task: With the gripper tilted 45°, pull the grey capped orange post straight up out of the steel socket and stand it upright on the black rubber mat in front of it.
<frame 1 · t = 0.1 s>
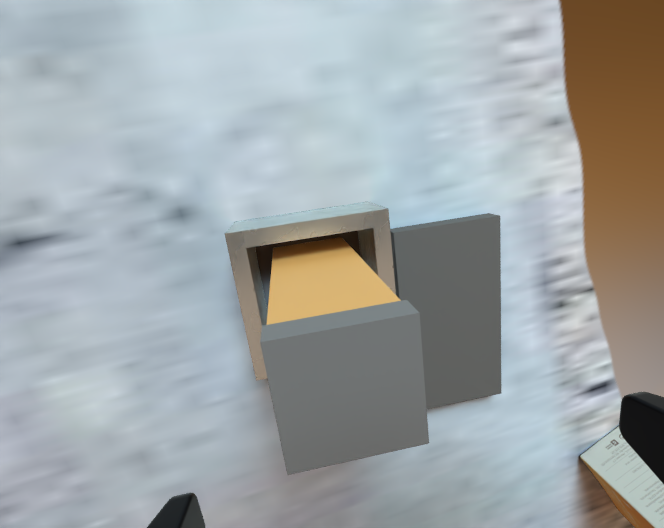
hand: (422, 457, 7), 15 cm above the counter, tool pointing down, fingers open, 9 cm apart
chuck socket: (312, 274, 21), on the counter
grey capped orange post: (324, 313, 16), in the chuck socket
small box: (626, 458, 29), on the counter
rubber mat: (443, 312, 23), on the counter
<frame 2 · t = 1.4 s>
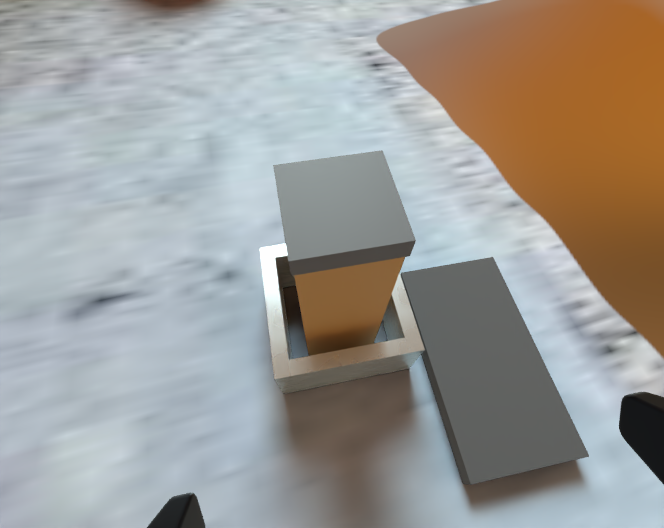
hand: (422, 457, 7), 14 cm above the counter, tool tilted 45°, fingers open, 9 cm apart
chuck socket: (334, 321, 23), on the counter
grey capped orange post: (336, 278, 18), in the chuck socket
rubber mat: (476, 358, 22), on the counter
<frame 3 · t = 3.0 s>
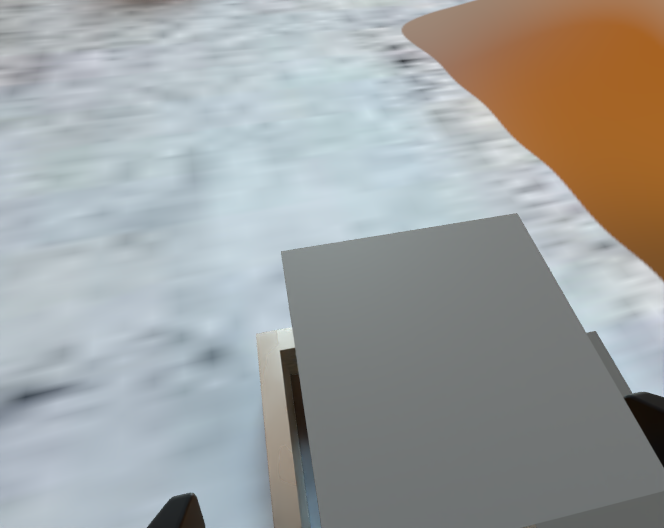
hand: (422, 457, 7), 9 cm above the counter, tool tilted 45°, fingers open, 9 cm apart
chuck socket: (368, 431, 15), on the counter
grey capped orange post: (387, 411, 10), in the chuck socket
rubber mat: (587, 497, 14), on the counter
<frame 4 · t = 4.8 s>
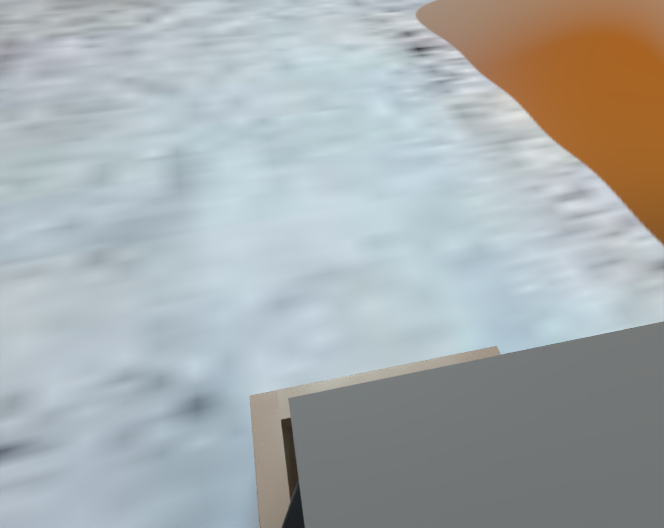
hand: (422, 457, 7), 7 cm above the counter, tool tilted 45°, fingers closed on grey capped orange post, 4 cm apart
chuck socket: (392, 507, 12), on the counter
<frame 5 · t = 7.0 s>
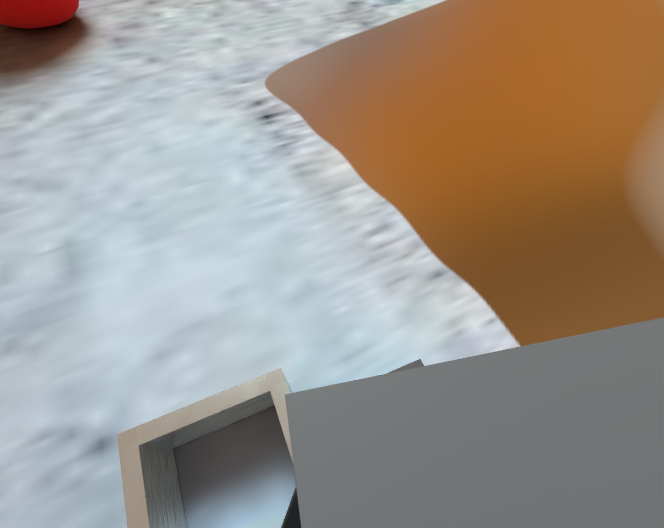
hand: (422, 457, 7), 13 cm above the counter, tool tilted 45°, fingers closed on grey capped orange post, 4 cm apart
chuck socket: (243, 484, 18), on the counter
tomato: (39, 25, 39), on the counter
when the fingers open (9 cm above the counter, at t = 9.0 s): grey capped orange post drops 1 cm, resting on rubber mat.
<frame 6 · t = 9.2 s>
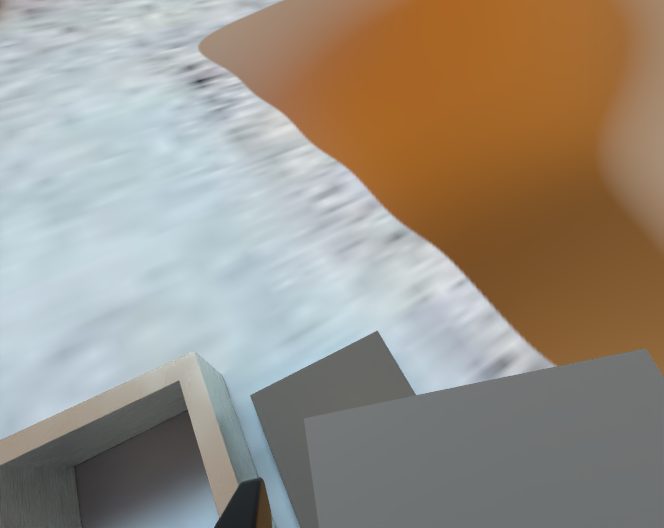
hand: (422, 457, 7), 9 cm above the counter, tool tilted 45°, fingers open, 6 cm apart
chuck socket: (162, 503, 15), on the counter
grey capped orange post: (421, 526, 8), on the rubber mat, point 7 cm above the counter
rubber mat: (381, 500, 15), on the counter
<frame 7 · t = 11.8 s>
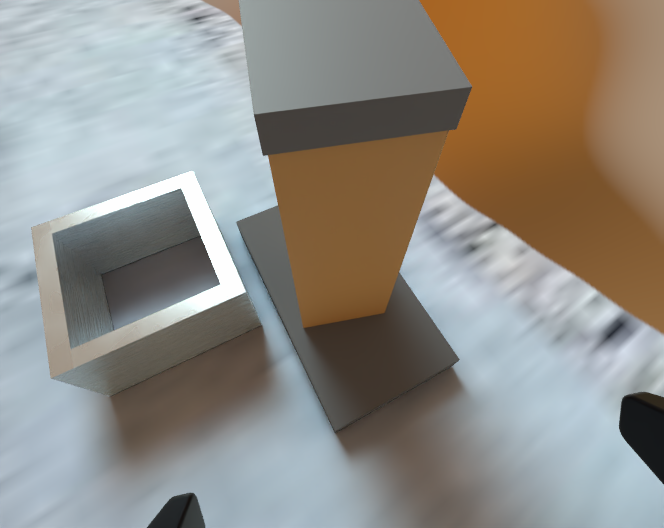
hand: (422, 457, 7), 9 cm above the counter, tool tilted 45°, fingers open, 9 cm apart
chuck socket: (169, 295, 19), on the counter
grey capped orange post: (338, 210, 13), on the rubber mat, point 7 cm above the counter
rubber mat: (336, 293, 19), on the counter
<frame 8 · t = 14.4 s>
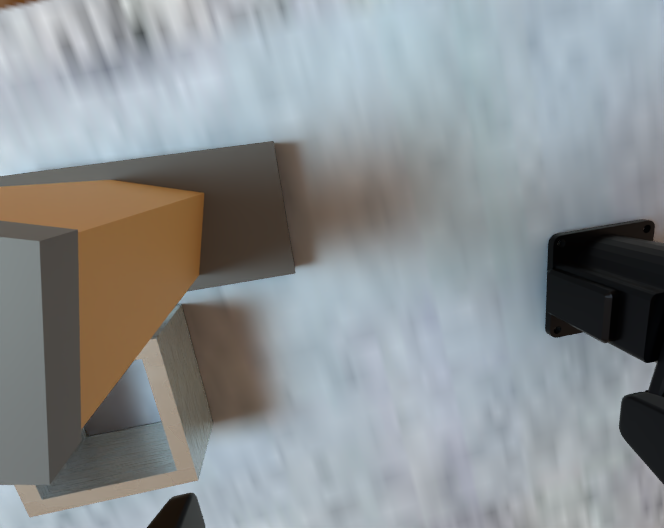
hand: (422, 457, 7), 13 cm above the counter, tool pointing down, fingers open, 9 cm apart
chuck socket: (127, 380, 20), on the counter
grey capped orange post: (92, 261, 11), on the rubber mat, point 7 cm above the counter
rubber mat: (164, 225, 18), on the counter
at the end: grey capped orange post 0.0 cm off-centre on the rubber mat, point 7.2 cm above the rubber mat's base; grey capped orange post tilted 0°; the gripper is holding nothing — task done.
